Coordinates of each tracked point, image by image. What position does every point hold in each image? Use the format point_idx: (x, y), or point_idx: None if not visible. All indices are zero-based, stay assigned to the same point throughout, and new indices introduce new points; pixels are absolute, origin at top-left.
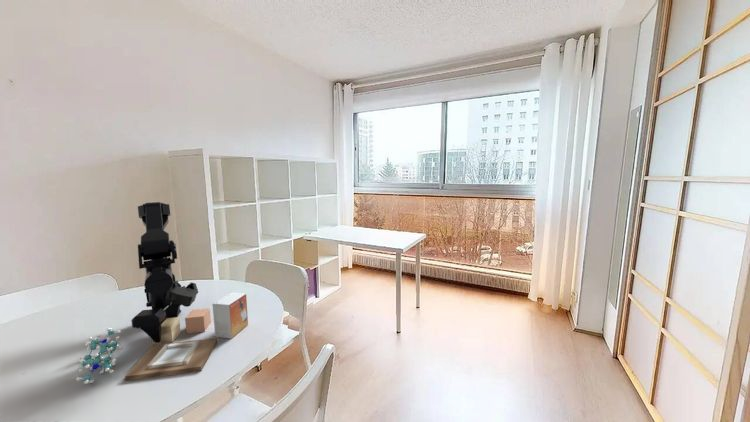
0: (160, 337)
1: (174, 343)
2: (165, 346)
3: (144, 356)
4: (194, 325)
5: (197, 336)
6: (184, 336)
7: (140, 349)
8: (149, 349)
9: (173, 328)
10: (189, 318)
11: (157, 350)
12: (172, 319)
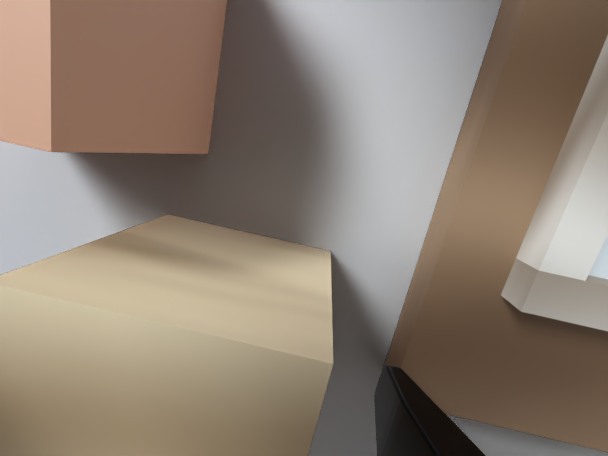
0: (414, 397)
1: (562, 216)
2: (575, 301)
3: (572, 431)
4: (178, 29)
5: (321, 20)
6: (263, 164)
7: (335, 448)
8: (460, 415)
9: (265, 294)
10: (72, 52)
11: (524, 353)
12: (57, 374)
